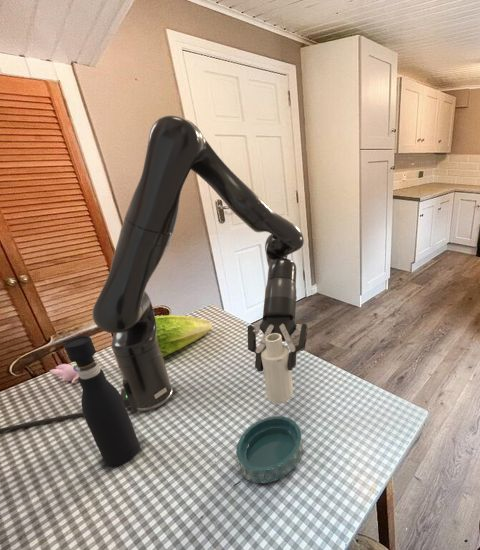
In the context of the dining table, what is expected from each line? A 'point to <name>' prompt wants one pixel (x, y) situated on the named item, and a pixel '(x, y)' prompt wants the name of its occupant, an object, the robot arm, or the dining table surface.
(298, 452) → the dish
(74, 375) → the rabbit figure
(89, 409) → the black insulated flask
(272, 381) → the white bottle
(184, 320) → the lettuce
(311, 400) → the dining table surface
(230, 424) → the dining table surface
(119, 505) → the dining table surface
